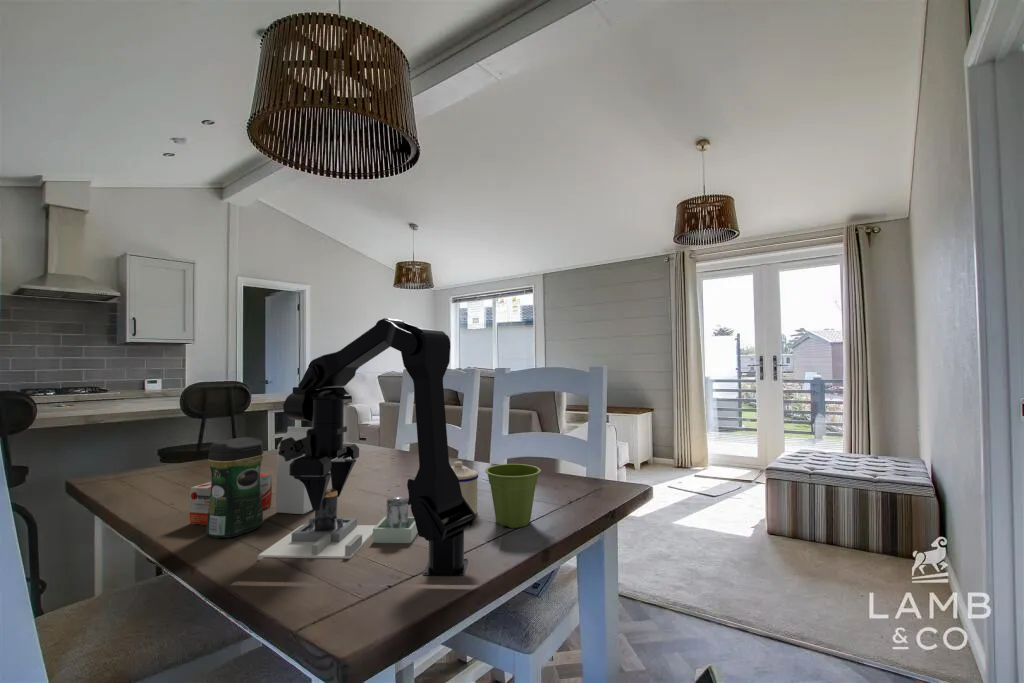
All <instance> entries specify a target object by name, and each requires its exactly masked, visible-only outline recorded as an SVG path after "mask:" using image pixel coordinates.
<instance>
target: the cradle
mask: <svg viewBox="0 0 1024 683" xmlns="http://www.w3.org/2000/svg"><path fill="white" fill-rule="evenodd" d="M337 518H338V519H337V527H336V528H335V529H333V530H329V531H316V530H315V516H313V517H309V518H308V522H309V528H308V529H307V530H306V531H304V532H337V531H338V530H339V529H341V528H342V527H343V526H344V525H345V524H346V522H343V518H344V517H337Z"/></svg>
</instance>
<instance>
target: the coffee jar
mask: <svg viewBox="0 0 1024 683" xmlns="http://www.w3.org/2000/svg"><path fill="white" fill-rule="evenodd" d="M208 450H209V451H208V460H207V463H208V466H209V468H210V472H211V481H210V482H211V494H210V503H209V510H208V517H207V525H206V534H207V535H209V536H210V537H212V538H215V539H220V538H233V537H237V536H240V535H243V534H246V533H249V532H251V531H254V530H257V529H258V528H260V527H262V524H263V523H264V520H263V519H264V518H263V515H264V514H263V510H262V501H261V489H260V474H261V466H262V461H263V458H264V449H263V442H262V440H261V438H259V437H249V436H247V437H244V436H243V437H236V438H231V439H225V440H220V441H215V442H212V443H211V445H210V446H209V449H208Z"/></svg>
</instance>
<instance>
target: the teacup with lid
mask: <svg viewBox="0 0 1024 683" xmlns="http://www.w3.org/2000/svg"><path fill="white" fill-rule="evenodd" d="M463 464H464V463H463V461H459V460H457V461H454V462H453V465H452V466H451V467H452V469H453V471H454V472H455V474H456V475H457V477H458V479H459V483H460V488H461V493H462V496H463V498H464V499H465V501H466V502H467V503H468V505H469V506H470V508H471V509H472V510H473V512H474V513H475V515H477V513H478V478H479V474H478V472H477V471H476V470H474V469H472V468H471V469H470V468H469V467H467V466H466V465H463Z"/></svg>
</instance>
